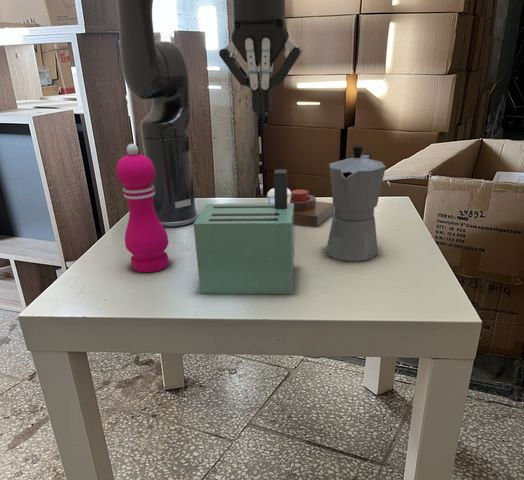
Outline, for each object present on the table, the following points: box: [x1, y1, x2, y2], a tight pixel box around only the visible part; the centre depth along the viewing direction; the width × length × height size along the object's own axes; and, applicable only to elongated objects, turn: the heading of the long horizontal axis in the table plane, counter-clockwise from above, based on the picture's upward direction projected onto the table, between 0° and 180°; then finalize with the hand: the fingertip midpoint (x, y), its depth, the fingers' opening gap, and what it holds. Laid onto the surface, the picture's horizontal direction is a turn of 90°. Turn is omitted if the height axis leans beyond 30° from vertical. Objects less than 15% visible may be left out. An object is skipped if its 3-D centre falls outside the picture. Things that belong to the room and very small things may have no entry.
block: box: [291, 194, 335, 228], centre depth 110 cm, size 12×10×4 cm
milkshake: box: [266, 187, 292, 203], centre depth 99 cm, size 4×5×10 cm
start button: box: [291, 189, 310, 201], centre depth 109 cm, size 4×4×2 cm
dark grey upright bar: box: [273, 168, 288, 208], centre depth 78 cm, size 2×2×5 cm
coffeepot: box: [326, 144, 387, 263], centre depth 88 cm, size 15×9×18 cm, turn 157°
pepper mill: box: [115, 143, 170, 273], centre depth 85 cm, size 7×7×20 cm
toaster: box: [192, 202, 295, 295], centre depth 80 cm, size 14×10×11 cm
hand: (261, 115), depth 83 cm, fingers closed
